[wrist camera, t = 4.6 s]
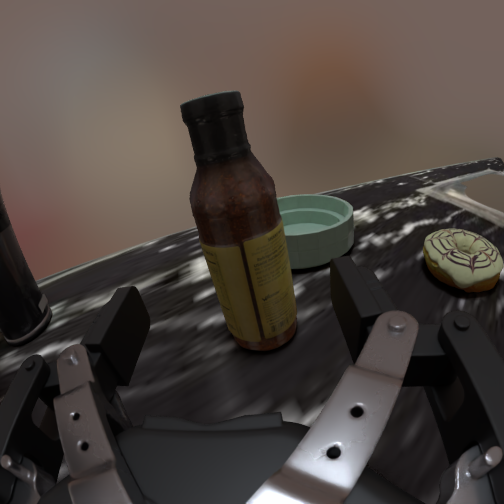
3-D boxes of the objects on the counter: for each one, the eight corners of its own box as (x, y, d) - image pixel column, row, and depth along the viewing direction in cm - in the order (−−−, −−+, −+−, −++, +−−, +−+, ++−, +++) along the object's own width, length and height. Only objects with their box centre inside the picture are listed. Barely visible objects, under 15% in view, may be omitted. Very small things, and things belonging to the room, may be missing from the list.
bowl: (247, 281, 33) (239, 243, 31) (248, 231, 46) (242, 202, 44) (369, 262, 32) (370, 224, 30) (336, 218, 45) (334, 189, 43)
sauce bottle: (294, 305, 28) (264, 90, 19) (302, 350, 22) (269, 80, 13) (229, 313, 28) (180, 107, 19) (225, 359, 23) (154, 104, 14)
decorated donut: (463, 311, 21) (473, 279, 19) (405, 262, 31) (407, 233, 29) (510, 279, 22) (518, 252, 20) (456, 243, 32) (460, 218, 30)
